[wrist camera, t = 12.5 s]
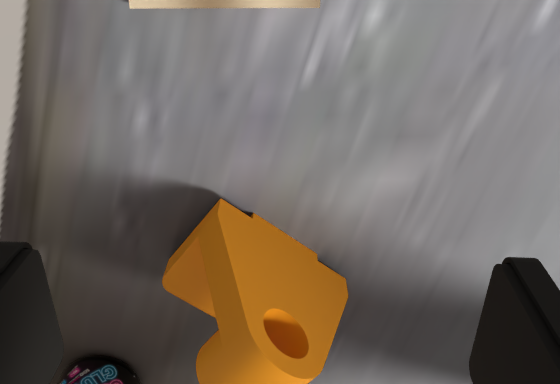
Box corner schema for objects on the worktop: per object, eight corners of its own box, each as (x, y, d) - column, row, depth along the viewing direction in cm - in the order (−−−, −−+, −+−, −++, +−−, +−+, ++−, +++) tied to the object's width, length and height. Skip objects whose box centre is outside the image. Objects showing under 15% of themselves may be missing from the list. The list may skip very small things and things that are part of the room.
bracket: (164, 260, 37) (117, 404, 27) (222, 191, 34) (194, 323, 24) (282, 328, 40) (281, 480, 30) (344, 271, 37) (367, 417, 27)
